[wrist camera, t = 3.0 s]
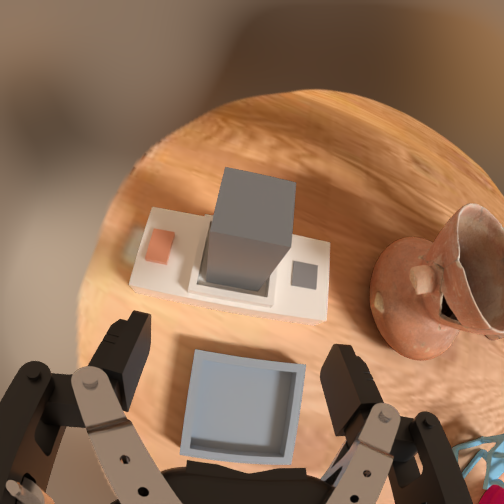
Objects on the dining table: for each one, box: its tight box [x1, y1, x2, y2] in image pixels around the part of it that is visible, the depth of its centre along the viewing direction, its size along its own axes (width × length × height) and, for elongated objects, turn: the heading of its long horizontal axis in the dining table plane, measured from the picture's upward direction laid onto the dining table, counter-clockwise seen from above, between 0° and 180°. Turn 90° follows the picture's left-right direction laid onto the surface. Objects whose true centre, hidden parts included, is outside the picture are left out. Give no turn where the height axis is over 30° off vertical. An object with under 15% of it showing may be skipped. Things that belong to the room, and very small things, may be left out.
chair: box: [452, 434, 504, 490], centre depth 18 cm, size 8×8×12 cm
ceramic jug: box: [370, 203, 504, 360], centre depth 25 cm, size 18×14×14 cm
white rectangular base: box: [129, 207, 330, 326], centre depth 27 cm, size 18×8×4 cm, turn 82°
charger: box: [206, 167, 296, 292], centre depth 21 cm, size 5×5×10 cm
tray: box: [180, 349, 306, 465], centre depth 23 cm, size 10×10×2 cm
